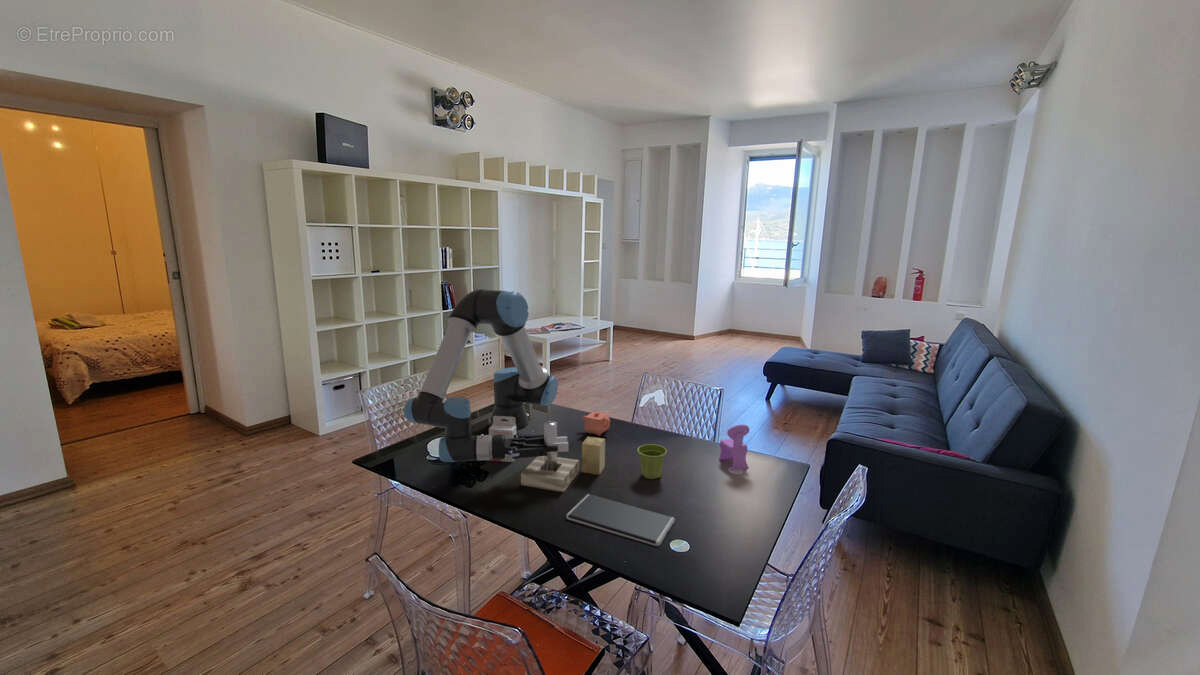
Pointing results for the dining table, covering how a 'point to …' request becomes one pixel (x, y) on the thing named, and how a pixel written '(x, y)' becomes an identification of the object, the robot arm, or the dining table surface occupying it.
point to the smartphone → (622, 519)
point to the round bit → (550, 437)
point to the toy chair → (735, 447)
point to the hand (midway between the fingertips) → (567, 443)
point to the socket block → (550, 474)
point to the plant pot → (651, 460)
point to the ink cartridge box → (503, 432)
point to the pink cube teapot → (596, 422)
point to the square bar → (593, 455)
